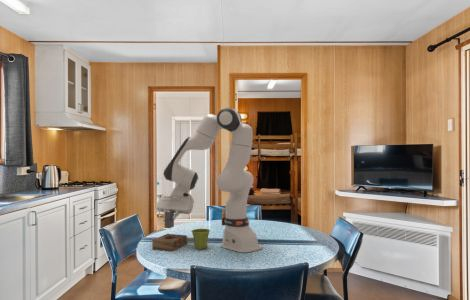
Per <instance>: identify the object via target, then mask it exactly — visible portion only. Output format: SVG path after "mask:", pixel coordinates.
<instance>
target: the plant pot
mask: <svg viewBox="0 0 470 300" xmlns="http://www.w3.org/2000/svg"><path fill="white" fill-rule="evenodd" d="M210 231H211V230H210V229H209V228H196V229H195V228H194V229H191V234H192V237H193V242H194V243H193V244H194V248H195V249H199V250H205V249H206V248H207V247H208V241H209V234H210Z"/></svg>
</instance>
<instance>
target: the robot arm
mask: <svg viewBox="0 0 470 300" xmlns="http://www.w3.org/2000/svg"><path fill="white" fill-rule="evenodd" d="M223 129H224V130H226V131H229V132H231V142H230V148H229V154H228V158H227V161H226V164H225V166H224V167H223V170H222V171H221V172H220V174H219V175H218V176H217V178H216V185H217V188H218V189H219V190H221V192H225V193H229V196H228V199H227V200H226V202H225V207H226V217H225V225H224V226H225V227H224V229H223V234H222V243H221V244H220V248H222V249H223V248H224V249H227V250H231V251H234V252H238V253H250V252H251V253H252V252H256V251H259V250H262V249H263V245H261V244H260V243H258V235H257V233H256V232H254V230H253V229H252V228H251V227H250V223H251V222H250V220H249V219H248V215H247V213H248V209H247V208H248V199H249V194H250V190H251V187H252V186H253V184H254V181H255V179H254V176H253V174H252V172H250V171H247V170H245V168H246V166H247V165H248V163H249V162H250V160H251V154H252V153H251V152H252V147H253V141H254V140H253V136H254V134H253V128H252V126H250V124H248V123H243V122H242V116H241V114H240V112H238V111H237V110H236V109H234V108H230V107H224V108H222V109H220V110H219V111H218V113H217V115H216V114H213V113H208V114H205V115H204V117H203V118H202V120H201V121H200V122H199V125H198V127H197V128H196V131H195V133H194V134H192V135H191V136H187V137H186V138H185V139H184V141H183V142H182V143H181V145H180V147H179V148H178V149H177V151H176V152H175V154H174V156H173V157H172V159H171V160H170V161H169V163H168V164H166V166H165V168H164V169H163V173H162V174H163V176H164V178H165V180H167V181H168V182H169V181H170V182H173V183H175V187H174V188H173V189H172V191H171V194H170V195H169V196H167V195H166V196H165V195H164V196H162V197H161V198H160V199H159V201H158V202H157V203H156V205H155V209H156V211H157V212H160V213H164V215H163V219H164V220H165V212H167V211H168V210H170V211H174V215H172V217H171V219H172V220H174V221H175V220H176V218H177V217H178V216H179V215H180V214H181V215H182V214H183V215H190V214H191V213H192V211H193V208H194V203H195V199H194V198H193V196H192V195H191V193H190V192H191V190H194V189H195V187H196V184H197V182H198V180H199V175H198V173H197V172H196V171H195V170H192V169H190V168H187V167H185V166H183V165H181V164H179V163H180V161H181V159H183V156H184V155H185V153H186V152H187V151H193V150H194V151H195V150H196V151H204V150H208V149H210V148H211V147H212V146H213V144H214V143H215V141H216V139H217V137H218V134H219V132H220V131H221V130H223Z"/></svg>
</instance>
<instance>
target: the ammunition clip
mask: <svg viewBox="0 0 470 300" xmlns="http://www.w3.org/2000/svg"><path fill="white" fill-rule="evenodd" d="M225 217H226V206H225V207H222V210H221V225H222V226H226V225H225Z"/></svg>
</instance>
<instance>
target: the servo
mask: <svg viewBox="0 0 470 300" xmlns="http://www.w3.org/2000/svg"><path fill="white" fill-rule="evenodd" d="M174 214H175V213H174V211H170V210H168V211H167V212H165V214H164V215H165V219H164V220H163V222H164V228H165V229H172V228H174V227H175V220H172V219H171V217H172V215H174Z"/></svg>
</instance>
